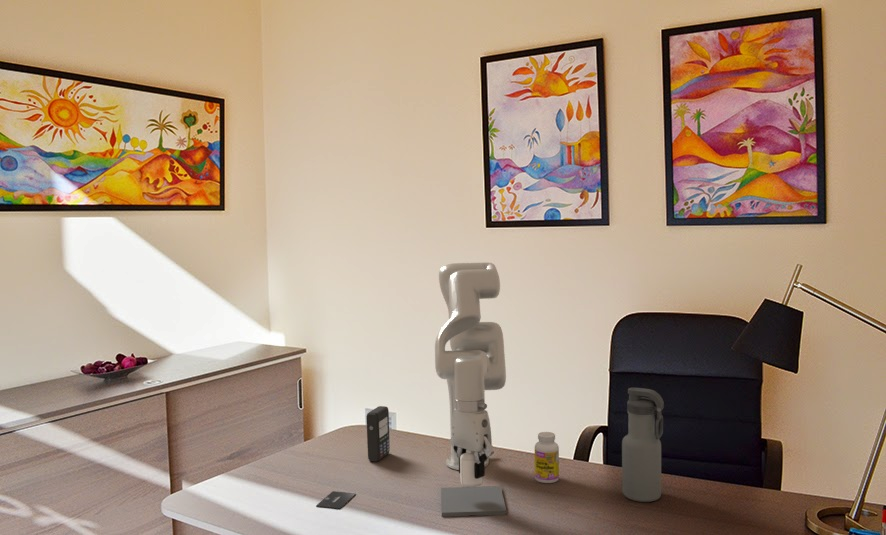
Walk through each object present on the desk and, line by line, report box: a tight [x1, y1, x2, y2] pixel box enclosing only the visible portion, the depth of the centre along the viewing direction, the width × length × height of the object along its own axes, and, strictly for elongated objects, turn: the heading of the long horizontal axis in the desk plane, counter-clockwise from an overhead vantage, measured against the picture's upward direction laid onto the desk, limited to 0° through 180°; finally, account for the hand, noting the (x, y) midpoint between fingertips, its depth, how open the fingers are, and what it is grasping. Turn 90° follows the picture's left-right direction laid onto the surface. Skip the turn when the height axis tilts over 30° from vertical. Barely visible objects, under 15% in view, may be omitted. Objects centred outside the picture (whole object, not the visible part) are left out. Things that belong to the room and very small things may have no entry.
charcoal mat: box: [440, 485, 507, 517], centre depth 190 cm, size 16×16×1 cm
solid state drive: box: [315, 490, 356, 510], centre depth 194 cm, size 7×10×1 cm
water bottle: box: [621, 387, 665, 503], centre depth 190 cm, size 10×10×28 cm
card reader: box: [365, 405, 391, 462], centre depth 225 cm, size 9×4×15 cm, turn 159°
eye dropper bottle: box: [459, 449, 484, 487], centre depth 189 cm, size 4×6×12 cm
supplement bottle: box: [534, 431, 560, 484], centre depth 204 cm, size 7×7×13 cm
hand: (471, 473), depth 189 cm, fingers closed on eye dropper bottle, 4 cm apart
